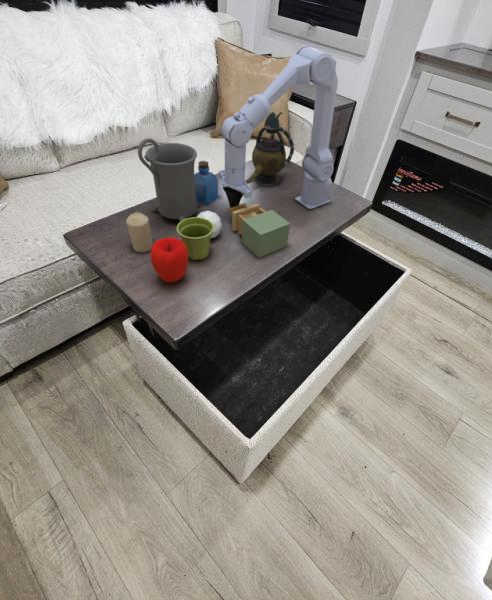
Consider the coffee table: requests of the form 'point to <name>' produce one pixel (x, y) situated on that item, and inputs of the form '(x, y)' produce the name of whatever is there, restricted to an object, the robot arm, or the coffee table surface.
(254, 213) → the block
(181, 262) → the apple
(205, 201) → the perfume bottle
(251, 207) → the drawer
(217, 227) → the geometric ball
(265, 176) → the teapot
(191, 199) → the mug
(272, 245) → the sage green box
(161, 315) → the coffee table surface
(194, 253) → the plant pot
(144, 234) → the candle
